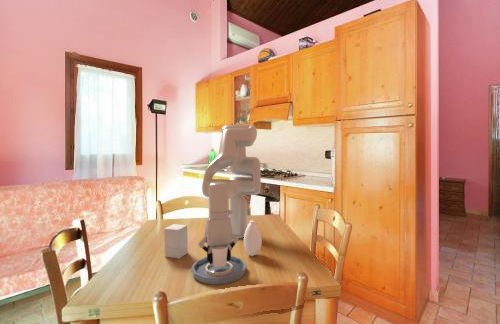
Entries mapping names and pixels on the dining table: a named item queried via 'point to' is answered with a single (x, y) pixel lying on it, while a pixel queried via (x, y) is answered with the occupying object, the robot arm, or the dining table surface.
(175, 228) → the supplement box
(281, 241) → the dining table surface
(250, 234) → the air blower bulb
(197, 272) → the round tray
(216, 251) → the pale cup
